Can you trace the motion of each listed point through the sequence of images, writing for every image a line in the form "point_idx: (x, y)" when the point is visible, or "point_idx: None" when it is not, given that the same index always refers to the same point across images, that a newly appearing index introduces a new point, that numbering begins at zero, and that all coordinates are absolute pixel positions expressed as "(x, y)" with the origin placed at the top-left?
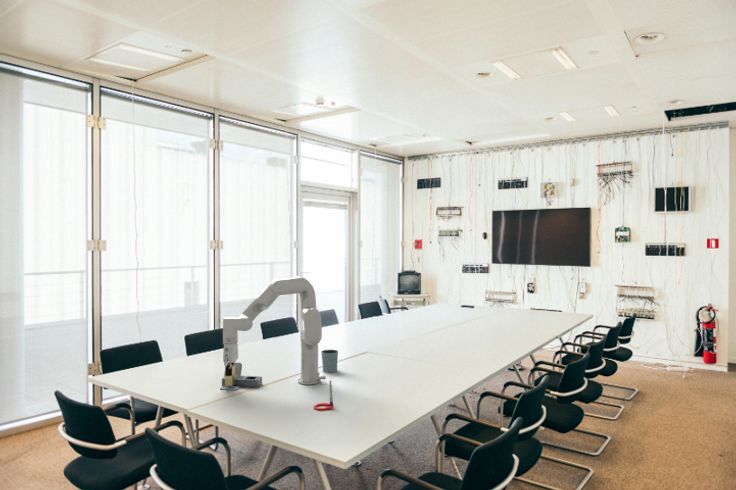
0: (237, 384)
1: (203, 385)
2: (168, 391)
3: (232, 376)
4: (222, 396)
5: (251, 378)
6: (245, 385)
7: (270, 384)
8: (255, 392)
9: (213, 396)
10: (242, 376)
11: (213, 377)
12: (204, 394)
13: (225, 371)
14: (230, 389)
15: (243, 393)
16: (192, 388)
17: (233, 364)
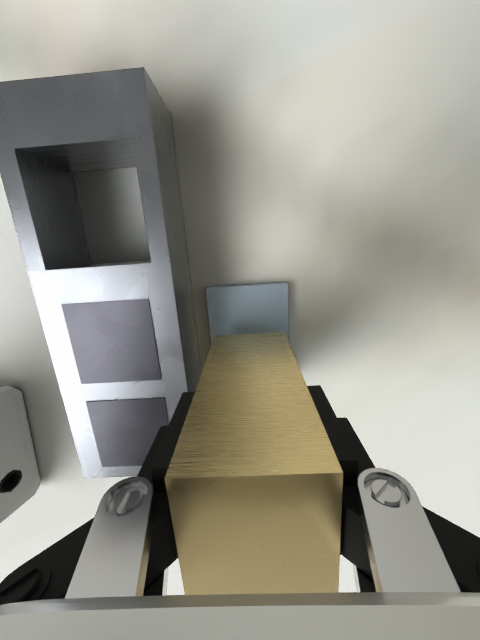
0: (190, 321)
1: None
2: None
3: (293, 370)
4: (452, 323)
5: (49, 229)
6: (183, 244)
7: (30, 11)
8: (324, 65)
9: (451, 385)
10: (68, 329)
11: (41, 549)
12: (405, 457)
13: None
14: (288, 334)
15: (365, 181)
16: None
17: (152, 523)
